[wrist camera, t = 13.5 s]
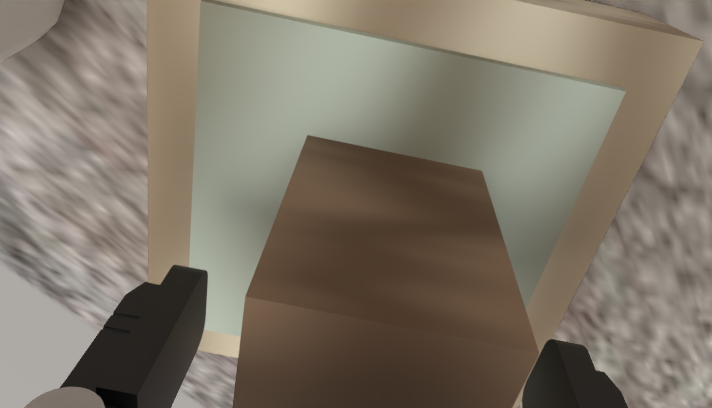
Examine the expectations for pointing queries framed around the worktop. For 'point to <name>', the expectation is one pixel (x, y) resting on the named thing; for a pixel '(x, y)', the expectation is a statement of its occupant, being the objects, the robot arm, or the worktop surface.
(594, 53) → the plinth
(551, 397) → the robot arm
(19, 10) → the white cup
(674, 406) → the worktop surface
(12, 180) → the worktop surface
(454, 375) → the walnut block
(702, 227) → the worktop surface
